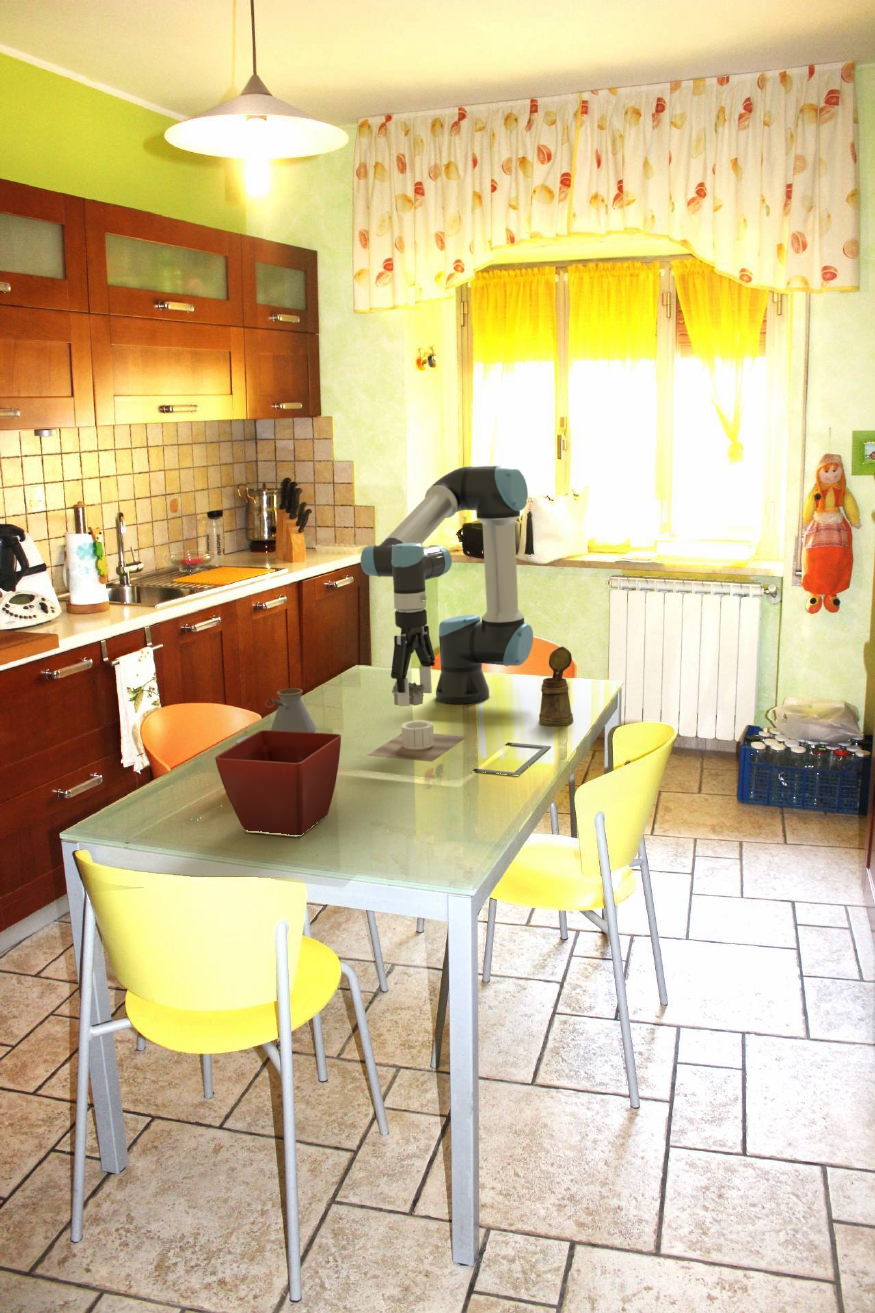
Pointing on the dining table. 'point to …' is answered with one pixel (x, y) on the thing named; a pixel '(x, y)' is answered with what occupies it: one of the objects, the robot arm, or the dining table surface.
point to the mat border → (524, 766)
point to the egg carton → (411, 694)
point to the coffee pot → (291, 713)
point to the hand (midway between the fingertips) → (415, 699)
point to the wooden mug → (556, 691)
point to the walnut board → (397, 750)
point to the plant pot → (281, 779)
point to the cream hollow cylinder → (417, 735)
